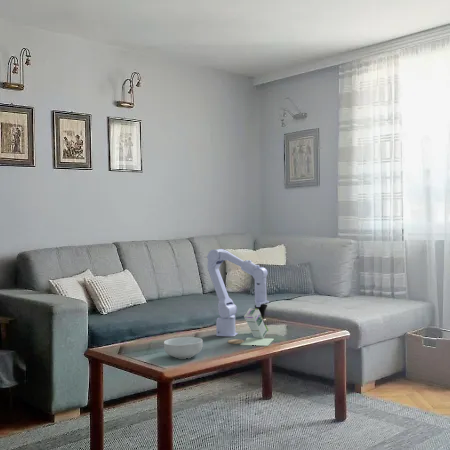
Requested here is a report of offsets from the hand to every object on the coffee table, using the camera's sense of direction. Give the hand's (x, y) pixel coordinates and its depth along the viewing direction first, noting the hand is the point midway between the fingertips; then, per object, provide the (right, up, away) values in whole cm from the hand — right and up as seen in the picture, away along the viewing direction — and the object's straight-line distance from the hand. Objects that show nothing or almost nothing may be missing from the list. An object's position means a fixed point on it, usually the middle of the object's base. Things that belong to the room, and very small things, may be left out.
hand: (261, 319), depth 286 cm
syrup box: (0, -7, 0) cm, 7 cm away
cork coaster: (-13, -9, -9) cm, 18 cm away
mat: (-3, -9, -10) cm, 14 cm away
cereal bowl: (-36, -10, -37) cm, 52 cm away
